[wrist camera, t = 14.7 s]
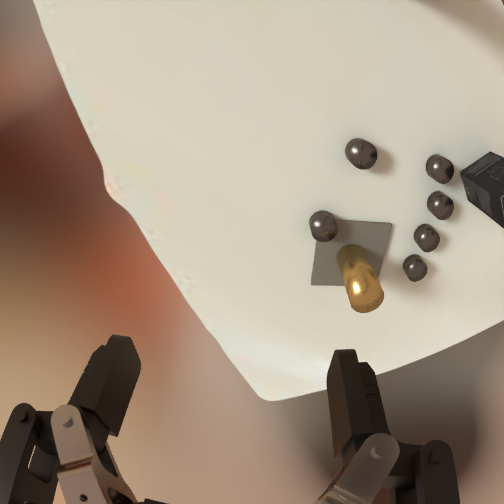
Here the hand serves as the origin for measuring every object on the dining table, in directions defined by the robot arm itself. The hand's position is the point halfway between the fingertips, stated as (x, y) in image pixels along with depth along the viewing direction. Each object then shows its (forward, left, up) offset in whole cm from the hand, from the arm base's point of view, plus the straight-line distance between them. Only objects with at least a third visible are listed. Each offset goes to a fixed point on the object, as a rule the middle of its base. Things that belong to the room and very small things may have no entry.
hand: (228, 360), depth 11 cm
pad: (+13, +14, -30) cm, 36 cm away
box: (-2, +35, -30) cm, 46 cm away
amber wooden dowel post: (+13, +14, -30) cm, 35 cm away
